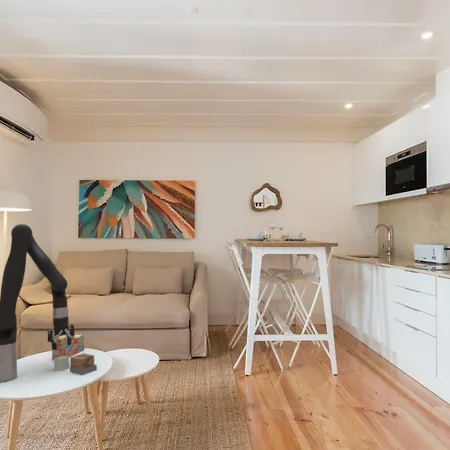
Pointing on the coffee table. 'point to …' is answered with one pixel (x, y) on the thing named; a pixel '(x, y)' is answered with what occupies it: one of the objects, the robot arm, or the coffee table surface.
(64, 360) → the sage block
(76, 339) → the stack of blocks
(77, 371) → the charcoal slab
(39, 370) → the coffee table surface
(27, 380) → the coffee table surface
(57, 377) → the coffee table surface
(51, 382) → the coffee table surface
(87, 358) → the walnut block
